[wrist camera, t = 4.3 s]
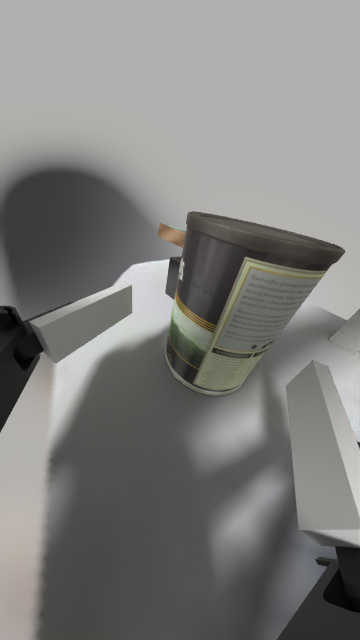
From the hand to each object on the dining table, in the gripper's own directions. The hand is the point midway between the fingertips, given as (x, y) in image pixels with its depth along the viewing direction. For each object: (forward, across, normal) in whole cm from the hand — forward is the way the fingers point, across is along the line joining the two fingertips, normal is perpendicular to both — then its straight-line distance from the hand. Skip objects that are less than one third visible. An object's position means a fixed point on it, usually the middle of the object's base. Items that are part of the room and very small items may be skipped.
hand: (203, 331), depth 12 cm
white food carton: (+24, +21, -8) cm, 33 cm away
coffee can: (+5, +1, -8) cm, 9 cm away
